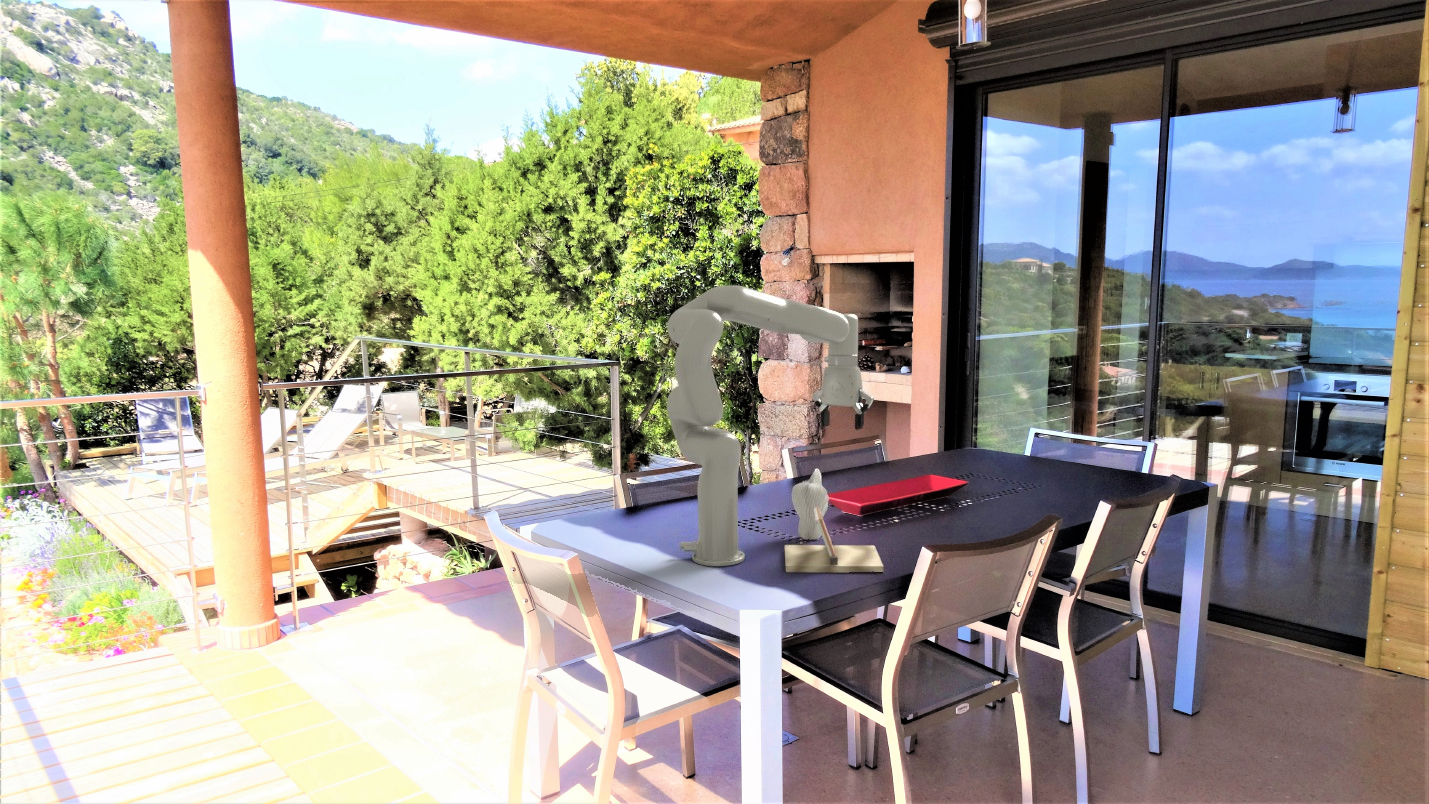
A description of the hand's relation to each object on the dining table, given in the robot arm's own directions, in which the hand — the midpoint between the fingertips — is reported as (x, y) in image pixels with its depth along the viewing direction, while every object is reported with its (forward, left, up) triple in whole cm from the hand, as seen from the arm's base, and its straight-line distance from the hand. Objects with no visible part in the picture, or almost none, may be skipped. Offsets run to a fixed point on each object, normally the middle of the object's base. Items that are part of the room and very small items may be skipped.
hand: (841, 427), depth 224 cm
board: (-4, -23, -29) cm, 37 cm away
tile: (-6, -23, -22) cm, 33 cm away
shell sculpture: (-8, -3, -29) cm, 30 cm away
